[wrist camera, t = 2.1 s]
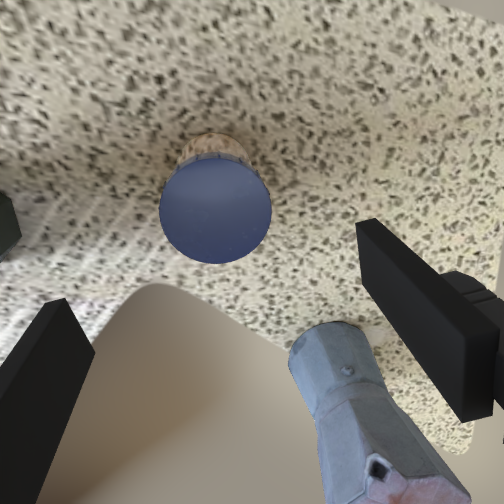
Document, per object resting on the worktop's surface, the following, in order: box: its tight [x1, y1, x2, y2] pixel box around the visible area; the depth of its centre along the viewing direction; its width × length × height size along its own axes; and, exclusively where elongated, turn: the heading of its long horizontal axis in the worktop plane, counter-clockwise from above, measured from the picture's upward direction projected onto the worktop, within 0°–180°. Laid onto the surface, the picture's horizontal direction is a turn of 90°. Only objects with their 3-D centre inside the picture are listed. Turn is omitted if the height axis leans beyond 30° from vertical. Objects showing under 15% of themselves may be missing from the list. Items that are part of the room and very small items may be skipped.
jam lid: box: [159, 151, 272, 264], centre depth 22 cm, size 6×6×2 cm
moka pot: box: [288, 322, 472, 504], centre depth 31 cm, size 10×15×20 cm, turn 27°
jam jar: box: [174, 133, 253, 170], centre depth 26 cm, size 6×6×9 cm
